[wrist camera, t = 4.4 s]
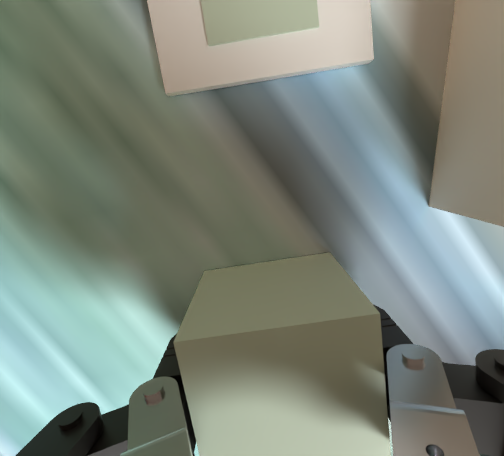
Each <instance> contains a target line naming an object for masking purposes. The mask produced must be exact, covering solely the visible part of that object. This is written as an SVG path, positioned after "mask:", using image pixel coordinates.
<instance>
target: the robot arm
mask: <svg viewBox="0 0 504 456" xmlns="http://www.w3.org/2000/svg"><path fill="white" fill-rule="evenodd" d="M374 307H375V308H376V309H377V310H378V311H379V313H380V319H381V332H382V346H383V359H384V373H385V386H386V399H387V413H388V418H389V420H390V421H391V429H392V444H393V456H504V350H498V349H492V350H485V351H482V352H480V353H479V354H478V355H477V356H476V366H470V365H458V364H448V363H443V362H442V361H441V359H440V357H439V356H438V355H437V354H436V353H435V352H433V351H432V350H430V349H428V348H426V347H423V346H420V345H415V344H413V343H412V342H411V341H410V339H409V338H408V337H407V336H406V335H405V334H404V333H403V331H402V330H401V329H400V328H399V327H398V326H396V323H395V322H394V321H393V320H392V319H391V317H390V316H389V315H388V314H387V313H386V312H385V311H384V310H383V309H381V308H379V307H377V306H375V305H374ZM176 335H177V334H176ZM176 335H175V336H174V337H173V338H172V339H171V340H170V342H169V344H168V346H167V350H166V351H165V353H164V355H163V357H162V359H161V362H160V364H159V366H158V368H157V370H156V373H155V375H154V377H153V379H151V380H149V381H147V382H145V383H143V384H142V385H140V386H139V387H138V388H137V389H136V390H135V391H134V392H133V393H132V395H131V397H130V399H129V404H128V405H126V406H124V407H122V408H119V409H116V410H113V411H111V412H108V413H105V414H102V415H101V413H100V409H99V407H98V405H97V404H95V403H91V402H86V403H81V404H77V405H75V406H72V407H70V408H68V409H66V410H64V411H63V412H61V413H60V414H58V415H57V416H56V417H55V418H53V419H52V420H51V421H50V422H49V423H48V424H47V425H46V426H45V427H44V428H43V429H42V430H41V431H40V432H39V433H38V434H37V435H36V436H35V437H34V438H33V439H32V440H31V441H30V442H29V443H28V444H27V445H26V446H25V447H24V448H23V449H22V450H21V451H20V452H19V453H18V454H17V455H16V456H195V455H194V449H195V444H196V438H195V433H194V429H193V425H192V421H191V416H190V412H189V408H188V403H187V399H186V395H185V390H184V386H183V382H182V377H181V373H180V369H179V365H178V360H177V356H176V352H175V347H174V343H173V342H174V340H175V337H176ZM479 454H480V455H479Z"/></svg>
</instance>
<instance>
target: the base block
mask: <svg viewBox="0 0 504 456" xmlns="http://www.w3.org/2000/svg"><path fill="white" fill-rule="evenodd" d="M429 207H433V208H437V209H440V210H444V211H448V212H451V213H455V214H459V215H462V216H466V217H470V218H473V219H477V220H481V221H484V222H488V223H492V224H495V225H499V226H503V227H504V0H455V5H454V13H453V21H452V29H451V37H450V44H449V52H448V60H447V68H446V76H445V83H444V91H443V99H442V107H441V115H440V122H439V130H438V138H437V146H436V154H435V161H434V169H433V177H432V185H431V192H430V200H429Z"/></svg>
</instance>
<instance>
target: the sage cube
mask: <svg viewBox="0 0 504 456" xmlns="http://www.w3.org/2000/svg"><path fill="white" fill-rule="evenodd" d="M173 343H174V347H175V352H176V356H177V360H178V365H179V369H180V373H181V377H182V382H183V386H184V390H185V395H186V399H187V403H188V408H189V412H190V416H191V421H192V425H193V429H194V433H195V438H196V442H197V446H198V451H199V455H200V456H391V453H390V440H389V426H388V413H387V399H386V386H385V373H384V359H383V346H382V332H381V319H380V313H379V311H378V310H377V309H376V308H375V307H374V305H373V304H372V303H371V302H370V301H369V299H368V298H367V297H366V296H365V294H364V293H363V292H362V291H361V290H360V288H359V287H358V286H357V285H356V284H355V282H354V281H353V280H352V279H351V277H350V276H349V275H348V274H347V273H346V271H345V270H344V269H343V268H342V267H341V265H340V264H339V263H338V262H337V260H336V259H335V258H334V257H333V256H332V254H331V253H330V252H328V253H322V254H315V255H308V256H301V257H294V258H288V259H281V260H274V261H267V262H261V263H254V264H247V265H240V266H233V267H227V268H220V269H213V270H206V271H204V273H203V275H202V277H201V279H200V282H199V284H198V286H197V289H196V291H195V293H194V296H193V298H192V300H191V303H190V305H189V307H188V310H187V312H186V314H185V316H184V319H183V321H182V323H181V326H180V328H179V330H178V333H177V335H176V337H175V340H174V342H173Z"/></svg>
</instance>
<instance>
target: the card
mask: <svg viewBox="0 0 504 456" xmlns="http://www.w3.org/2000/svg"><path fill="white" fill-rule="evenodd" d="M147 3H148V8H149V13H150V18H151V23H152V28H153V33H154V38H155V43H156V48H157V53H158V58H159V63H160V68H161V73H162V78H163V83H164V88H165V94H167V95H168V96H169V97H170V96H176V95H182V94H188V93H194V92H200V91H206V90H212V89H218V88H224V87H230V86H236V85H242V84H248V83H254V82H260V81H267V80H273V79H279V78H285V77H291V76H297V75H303V74H309V73H315V72H321V71H327V70H333V69H339V68H345V67H351V66H357V65H363V64H369V63H370V62H371V61H372V60H374V53H373V37H372V22H371V6H370V0H147Z"/></svg>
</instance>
